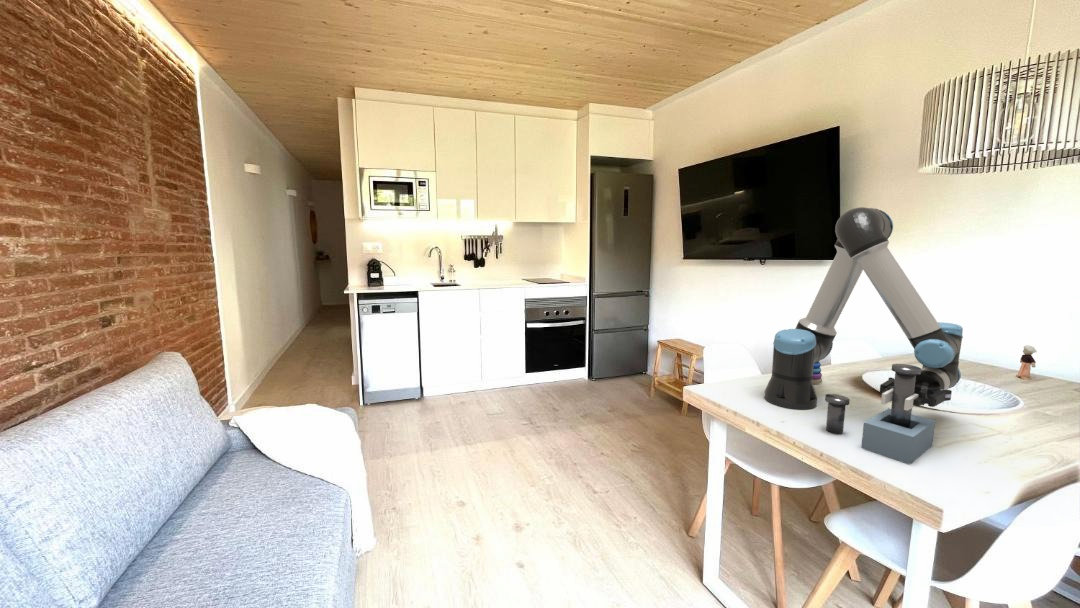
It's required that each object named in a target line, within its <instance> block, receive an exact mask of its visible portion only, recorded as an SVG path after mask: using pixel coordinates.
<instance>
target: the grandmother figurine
mask: <svg viewBox="0 0 1080 608" xmlns="http://www.w3.org/2000/svg"><path fill="white" fill-rule="evenodd" d="M1034 353H1037V349H1036V348H1035V347H1034V346H1033V345H1028V344H1027V345H1024V346H1023V350H1022V355H1021V357H1020V361H1019V363H1021V364H1020V367H1019V369H1018V373H1017V374H1016V375H1015V377H1017V378H1020V379H1021V380H1025V381H1026V380H1028V381H1029V380H1030V381H1031V380H1032V379H1031V377H1030V376H1031V375H1030V374H1031V368H1036V363H1037V362H1036V359H1034V357H1033V354H1034Z"/></svg>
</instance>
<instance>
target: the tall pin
mask: <svg viewBox="0 0 1080 608" xmlns="http://www.w3.org/2000/svg"><path fill="white" fill-rule="evenodd" d="M921 369H922V368H921V367H919V366H916V365H911V364H906V363H893V364H891V371H892V372H895V373H894V379H895V380H894V389H893V398H892V401H891V407H890V409H891V415H890V423H891V424H895V425H898V426H902V427H905V428H909V429H910V421H911V414H913V413H912V411H913V408H911V409H910V410H908V411H907V410H904V404H905V399H906V398H908V397H910V396H911V395H913V394H914V388H915V380H916V375H920V374H921Z"/></svg>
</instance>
